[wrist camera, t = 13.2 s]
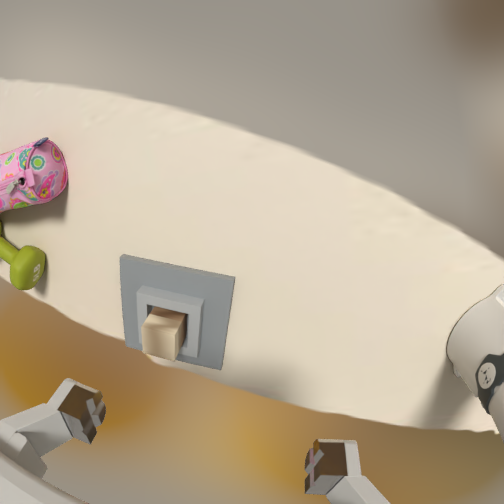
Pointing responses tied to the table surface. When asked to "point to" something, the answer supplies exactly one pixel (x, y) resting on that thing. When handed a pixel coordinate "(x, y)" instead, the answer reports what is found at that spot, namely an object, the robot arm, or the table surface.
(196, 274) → the socket board
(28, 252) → the dumbbell
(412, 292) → the table surface
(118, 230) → the table surface
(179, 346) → the stack block
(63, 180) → the pencil case
